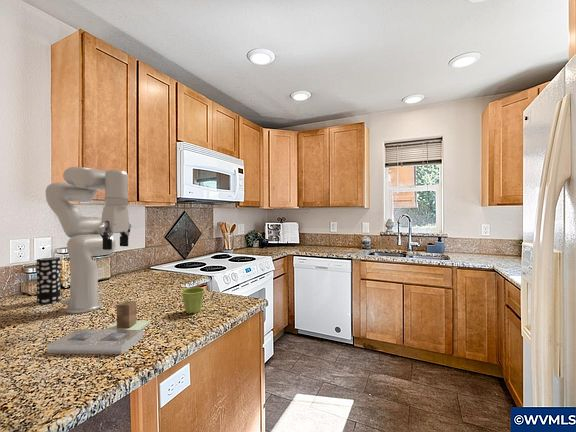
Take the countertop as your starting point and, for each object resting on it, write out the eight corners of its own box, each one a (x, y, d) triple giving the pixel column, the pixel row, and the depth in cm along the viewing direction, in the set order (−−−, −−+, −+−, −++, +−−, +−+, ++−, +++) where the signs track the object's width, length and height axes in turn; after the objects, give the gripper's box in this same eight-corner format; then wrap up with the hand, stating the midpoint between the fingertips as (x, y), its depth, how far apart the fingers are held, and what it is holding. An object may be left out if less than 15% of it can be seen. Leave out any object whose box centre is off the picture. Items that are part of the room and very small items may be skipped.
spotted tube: (32, 303, 129) (32, 259, 129) (53, 298, 136) (53, 257, 136) (43, 305, 126) (43, 260, 126) (64, 300, 133) (64, 258, 133)
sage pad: (101, 333, 96) (101, 330, 96) (118, 323, 105) (118, 320, 105) (136, 333, 95) (136, 331, 95) (150, 323, 104) (150, 321, 104)
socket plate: (47, 353, 82) (47, 344, 82) (77, 336, 93) (77, 329, 93) (121, 354, 81) (121, 345, 81) (142, 337, 92) (142, 329, 92)
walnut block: (116, 328, 98) (116, 305, 98) (124, 323, 102) (124, 301, 102) (129, 328, 98) (129, 305, 98) (136, 323, 102) (136, 301, 102)
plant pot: (191, 316, 111) (191, 294, 111) (176, 312, 116) (176, 291, 116) (209, 310, 119) (209, 289, 119) (194, 306, 124) (194, 286, 124)
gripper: (121, 203, 116) (120, 244, 117) (90, 202, 99) (89, 250, 99) (139, 203, 116) (138, 245, 116) (110, 202, 99) (110, 251, 99)
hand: (116, 247), depth 108 cm, fingers open, 9 cm apart
